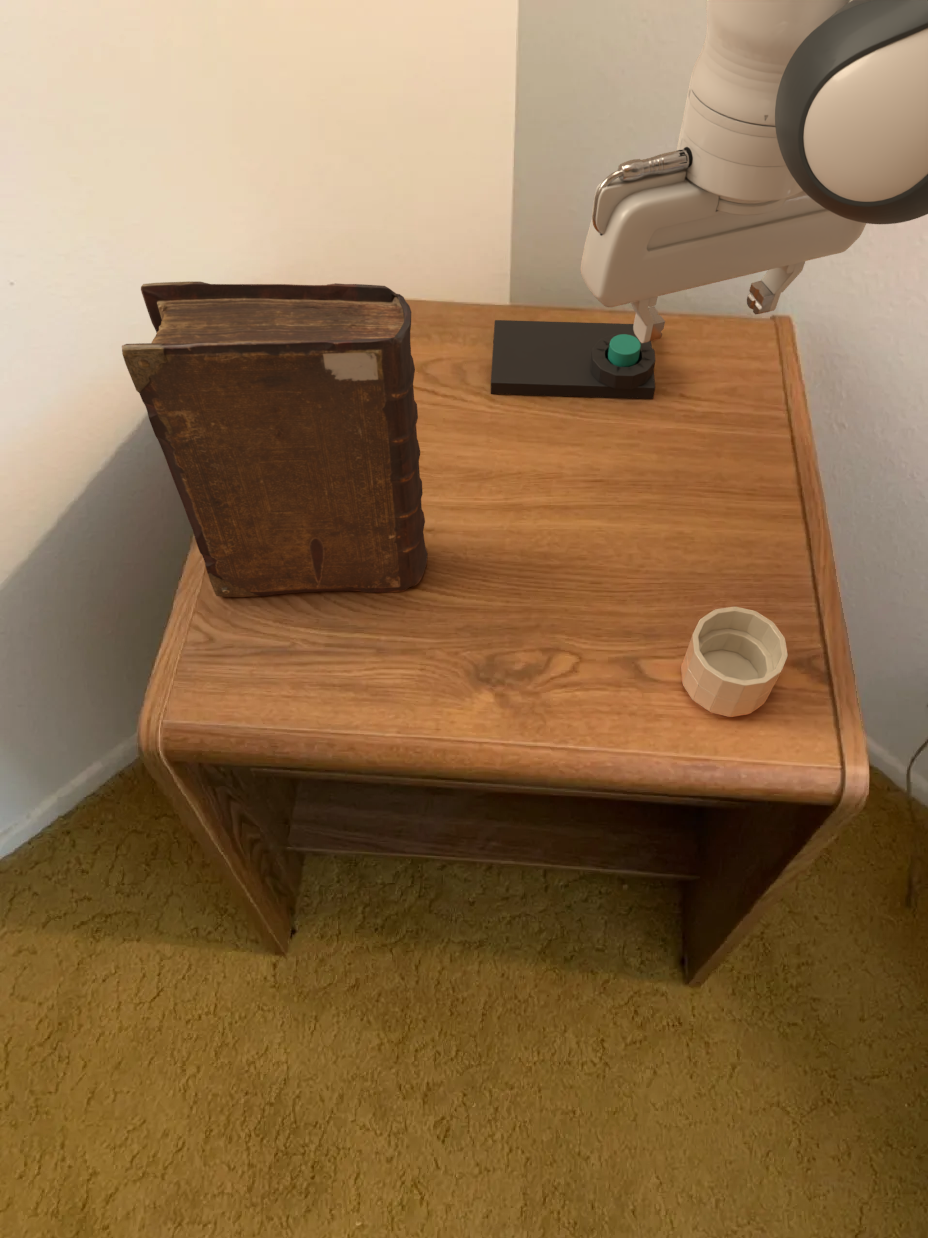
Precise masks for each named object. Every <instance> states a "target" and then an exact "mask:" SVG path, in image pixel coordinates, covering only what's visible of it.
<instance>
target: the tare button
mask: <svg viewBox="0 0 928 1238" xmlns="http://www.w3.org/2000/svg"><path fill="white" fill-rule="evenodd" d="M640 348H641V344H640V341H639V340H638V339H637V338H636V337H634V336H631V335H627V334H621V335H617V336H615V337H613V338H612V339H611V341H610V344H609V351H608V359H609V361H610V362H611V363H612V364H613V365H616V366H618V367H631V366H633V365H635V364H636V363H637V361H638V359H639V353H640Z"/></svg>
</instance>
